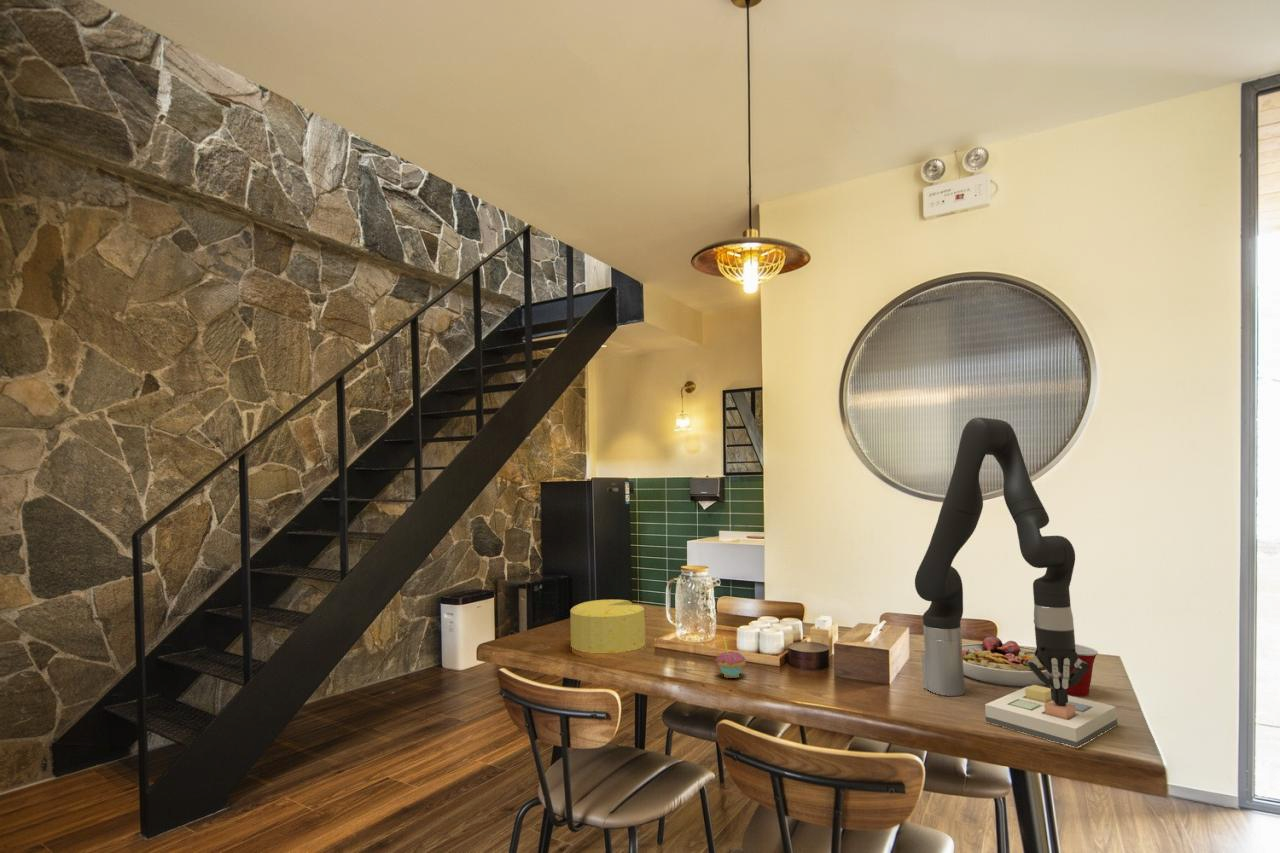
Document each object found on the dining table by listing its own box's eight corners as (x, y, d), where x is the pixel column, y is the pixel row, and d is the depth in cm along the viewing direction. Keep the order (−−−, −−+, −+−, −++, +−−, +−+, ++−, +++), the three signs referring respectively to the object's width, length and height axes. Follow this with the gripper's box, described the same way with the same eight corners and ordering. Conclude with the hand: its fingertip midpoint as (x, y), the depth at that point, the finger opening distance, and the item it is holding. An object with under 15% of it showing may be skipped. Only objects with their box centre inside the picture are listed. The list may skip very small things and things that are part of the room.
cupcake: (714, 679, 190) (712, 637, 191) (720, 671, 198) (718, 631, 199) (743, 682, 187) (741, 639, 188) (748, 673, 195) (747, 632, 196)
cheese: (656, 642, 235) (655, 600, 236) (627, 662, 211) (626, 614, 212) (591, 637, 245) (590, 596, 246) (556, 655, 221) (556, 610, 222)
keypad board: (986, 722, 152) (984, 704, 153) (1029, 703, 164) (1028, 686, 165) (1077, 749, 137) (1075, 728, 137) (1117, 725, 149) (1115, 706, 149)
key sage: (1011, 714, 152) (1010, 703, 152) (1020, 710, 155) (1019, 699, 155) (1030, 720, 149) (1030, 709, 149) (1040, 715, 151) (1039, 704, 151)
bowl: (1087, 692, 172) (1085, 662, 172) (964, 688, 178) (962, 659, 178) (1042, 661, 201) (1040, 635, 202) (937, 658, 207) (936, 632, 208)
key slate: (1060, 716, 150) (1060, 705, 150) (1069, 711, 153) (1068, 701, 153) (1082, 721, 147) (1081, 710, 147) (1090, 717, 149) (1089, 706, 149)
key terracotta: (1045, 715, 146) (1044, 704, 146) (1054, 710, 149) (1053, 699, 149) (1066, 720, 143) (1065, 709, 143) (1075, 716, 145) (1074, 705, 145)
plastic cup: (1107, 702, 164) (1103, 653, 165) (1057, 697, 168) (1053, 650, 169) (1095, 688, 174) (1091, 642, 175) (1048, 685, 178) (1045, 640, 179)
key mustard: (1025, 698, 157) (1025, 688, 157) (1034, 694, 159) (1033, 684, 159) (1045, 703, 153) (1044, 693, 153) (1054, 699, 156) (1053, 689, 156)
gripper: (1028, 628, 145) (1035, 709, 143) (1094, 629, 142) (1101, 711, 141) (1015, 621, 152) (1021, 698, 151) (1078, 622, 150) (1084, 699, 148)
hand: (1060, 704), depth 146 cm, fingers closed
